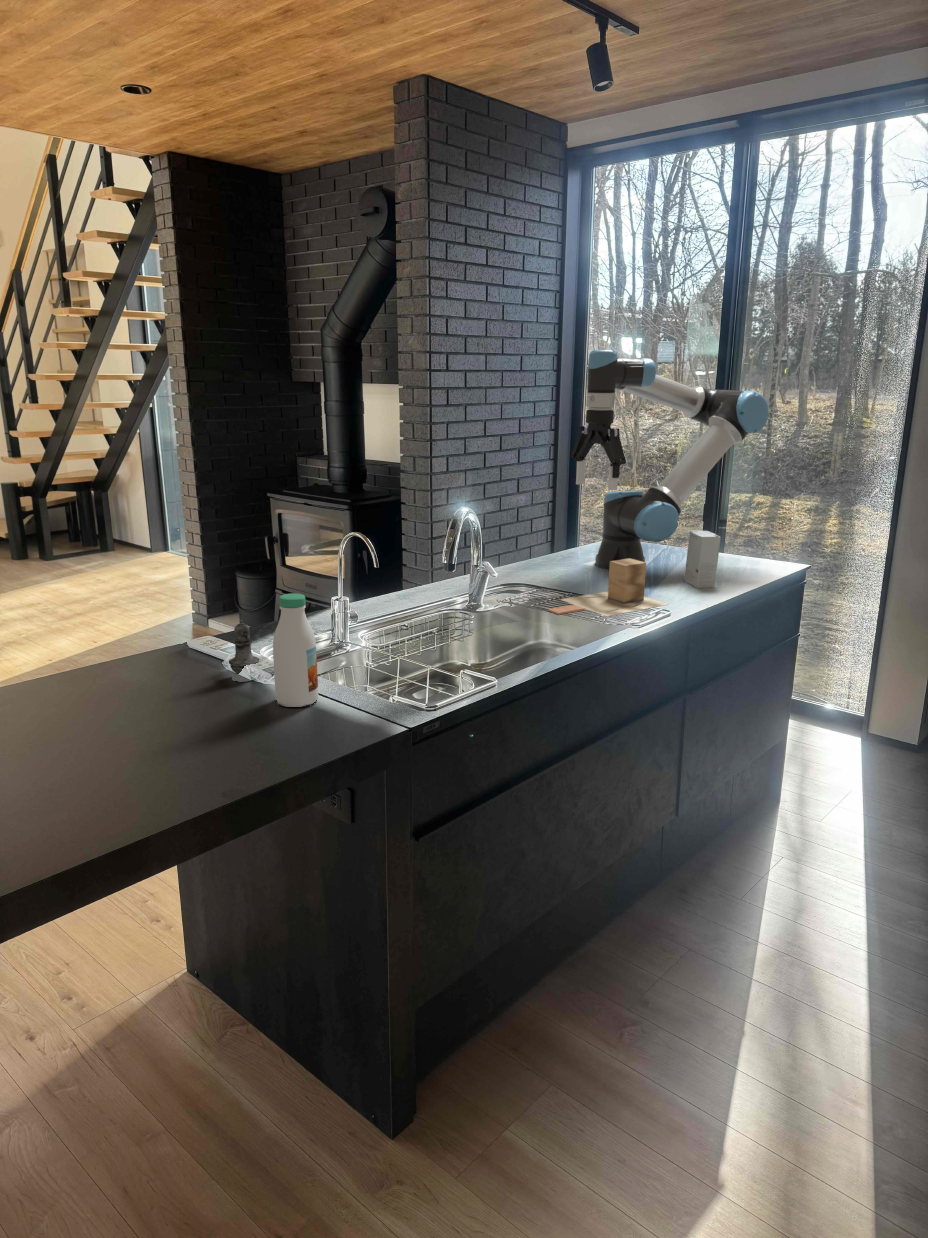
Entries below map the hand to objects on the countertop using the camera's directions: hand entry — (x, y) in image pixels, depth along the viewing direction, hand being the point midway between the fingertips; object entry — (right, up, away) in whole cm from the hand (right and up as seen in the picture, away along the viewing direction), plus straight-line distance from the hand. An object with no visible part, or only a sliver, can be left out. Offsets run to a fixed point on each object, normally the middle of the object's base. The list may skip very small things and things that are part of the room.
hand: (596, 486), depth 243 cm
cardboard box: (+5, -32, -18) cm, 37 cm away
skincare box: (+30, -27, +3) cm, 41 cm away
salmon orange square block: (-13, -37, -29) cm, 49 cm away
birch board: (+1, -34, -20) cm, 39 cm away
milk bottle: (-68, -52, -84) cm, 120 cm away
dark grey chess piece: (-80, -49, -72) cm, 118 cm away
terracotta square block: (-10, -36, -27) cm, 46 cm away
